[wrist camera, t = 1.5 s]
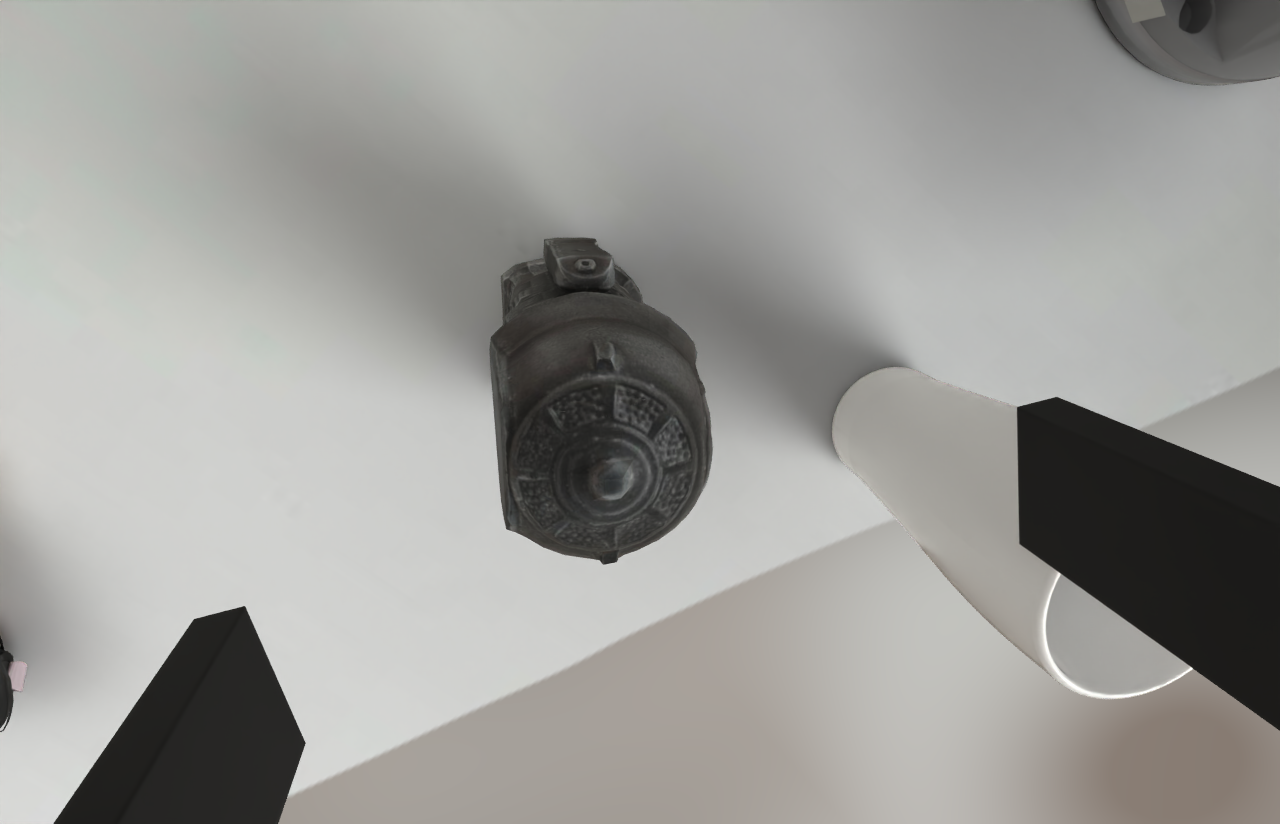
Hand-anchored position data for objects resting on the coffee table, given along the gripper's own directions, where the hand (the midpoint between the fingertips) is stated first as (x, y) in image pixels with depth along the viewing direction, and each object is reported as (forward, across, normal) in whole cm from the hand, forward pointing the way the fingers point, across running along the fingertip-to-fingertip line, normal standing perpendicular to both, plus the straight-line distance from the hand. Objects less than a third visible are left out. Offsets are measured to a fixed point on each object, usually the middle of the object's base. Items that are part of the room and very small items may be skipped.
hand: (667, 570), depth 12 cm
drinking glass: (+19, -13, +7) cm, 24 cm away
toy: (+19, 0, 0) cm, 19 cm away
